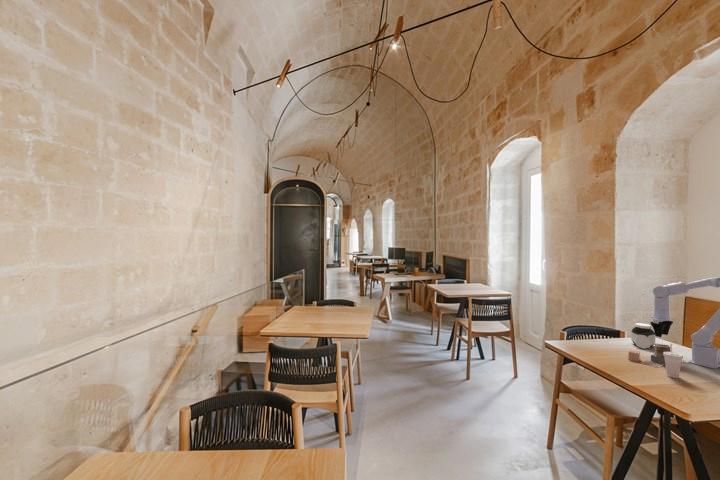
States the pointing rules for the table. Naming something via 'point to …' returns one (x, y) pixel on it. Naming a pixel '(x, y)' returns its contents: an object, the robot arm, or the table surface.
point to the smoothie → (672, 363)
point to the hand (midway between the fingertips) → (661, 335)
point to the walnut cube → (661, 349)
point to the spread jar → (643, 335)
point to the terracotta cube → (634, 355)
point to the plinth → (657, 359)
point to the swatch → (652, 363)
